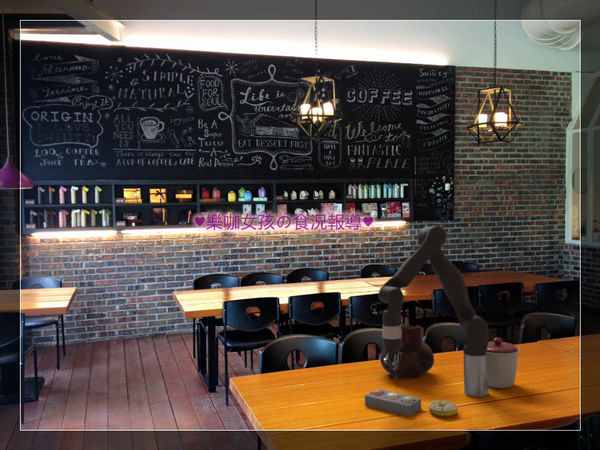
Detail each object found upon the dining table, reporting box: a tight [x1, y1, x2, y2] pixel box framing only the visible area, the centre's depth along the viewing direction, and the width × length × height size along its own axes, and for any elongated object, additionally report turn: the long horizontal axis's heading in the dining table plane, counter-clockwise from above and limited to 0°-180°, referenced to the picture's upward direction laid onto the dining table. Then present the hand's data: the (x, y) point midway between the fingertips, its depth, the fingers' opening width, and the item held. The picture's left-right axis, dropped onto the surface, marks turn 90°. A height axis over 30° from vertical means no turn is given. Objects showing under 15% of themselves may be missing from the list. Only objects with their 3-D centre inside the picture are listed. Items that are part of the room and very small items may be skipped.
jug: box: [380, 323, 435, 380], centre depth 249 cm, size 25×25×25 cm
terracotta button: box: [372, 388, 382, 396], centre depth 216 cm, size 4×4×4 cm
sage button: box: [403, 395, 414, 404], centre depth 207 cm, size 4×4×4 cm
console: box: [364, 387, 422, 417], centre depth 212 cm, size 20×10×4 cm, turn 50°
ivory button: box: [387, 392, 398, 400], centre depth 212 cm, size 4×4×4 cm
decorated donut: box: [428, 400, 458, 418], centre depth 204 cm, size 10×11×4 cm
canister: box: [486, 337, 521, 390], centre depth 233 cm, size 18×18×21 cm
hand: (393, 378), depth 212 cm, fingers closed
